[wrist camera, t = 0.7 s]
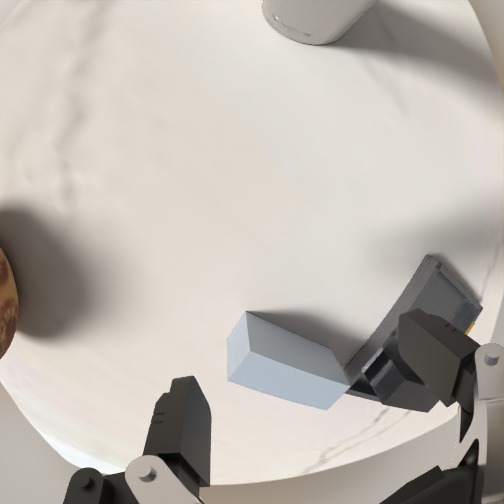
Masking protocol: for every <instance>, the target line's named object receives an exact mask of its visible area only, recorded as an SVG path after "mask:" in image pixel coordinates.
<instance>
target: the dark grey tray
mask: <svg viewBox="0 0 504 504" xmlns="http://www.w3.org/2000/svg"><path fill="white" fill-rule="evenodd" d="M415 307H418V308H420V309H421V310H423V311H424V312H425V313H427V314H428V315H429V314H432V315H436V316H439V317H442V318H443V319H445V320H446V321H448V322H449V323H450V325H451V324H452V325H453V326H455V327H456V328H457V329H459V330H460V331H462V332H463V333H464V334H466V335H467V334H468V333H469V331H470V330H471V328H472V327H473V325H474V324H475V323H474V322H475V321H476V319H477V317H478V316H479V314H480V312H481V311H482V309H483V307H482V306H481V305H480V304H479V303H478V302H477V300H476V299H475V298H474V297H473V296H472V295H471V294H470V293H469V292H468V290H467V289H466V288H465V287H464V286H463V285H462V284H461V283H460V282H459V281H458V280H457V279H456V278H455V277H454V276H453V275H452V274H451V273H450V272H449V271H448V269H447V268H446V267H445V266H444V265H442V264H441V263H440V262H439V261H438V260H436V259H434V258H432V257H430V256H428V255H427V254H426V256H425V258H424V260H423V261H422V263H421V265H420V266H419V268H418V269H417V271H416V273H415V274H414V276H413V277H412V279H411V281H410V282H409V284H408V285H407V287H406V288H405V290H404V291H403V293H402V294H401V296H400V297H399V299H398V300H397V302H396V303H395V305H394V306H393V307H392V309H391V310H390V312H389V313H388V314H387V316H386V317H385V318H384V320H383V321H382V323H381V324H380V325H379V327H378V328H377V329H376V330H375V332H374V333H373V334H372V336H371V337H370V338H369V339H368V341H367V342H366V343H365V344H364V346H363V347H362V348H361V349H360V351H359V352H358V353H357V354H356V355H355V357H354V358H353V359H352V360H351V361H350V362H349V364H348V365H347V366H346V367H345V368H344V369H343V370H342V371H343V373H344V374H345V376H346V378H347V380H348V382H349V384H350V386H351V387H350V388H349V389H348V390H347V391H346V392H345V393H346V394H350V395H353V396H357V397H361V398H365V399H369V400H374V401H378V402H381V403H382V404H383V405H388V406H393V407H398V408H403V409H409V410H415V411H421V412H427V413H428V412H429V411H430V410H431V409H432V408H433V407H434V406H435V404H436V403H437V402H438V401H439V400H440V399H439V398H438V397H437V396H436V395H435V394H434V393H433V392H432V390H431V389H430V388H429V387H428V386H427V385H426V384H425V383H424V382H423V381H422V379H421V378H420V377H419V376H418V375H417V374H416V373H415V372H414V371H413V370H412V369H411V368H410V367H409V365H408V364H407V363H406V362H405V361H404V360H403V359H402V357H401V356H400V353H399V349H398V331H399V316H400V314H402V313H404V312H406V311H409V310H411V309H413V308H415Z"/></svg>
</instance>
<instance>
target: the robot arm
mask: <svg viewBox="0 0 504 504" xmlns="http://www.w3.org/2000/svg"><path fill="white" fill-rule="evenodd" d="M377 1H378V0H263V3H262V10H263V14H264V16H265V18H266V20H267V21H268V23H269V24H270V25H271V26H272V27H273V28H274V29H275V30H276V31H278V32H279V33H281V34H282V35H284V36H286V37H288V38H290V39H292V40H294V41H298V42H301V43H305V44H312V45H323V44H328V43H332V42H334V41H336V40H338V39H339V38H340V37H342V36H343V35H344V34H345V33H346V32H347V31H348V30H349V29H350V28H351V27H352V26H353V25H354V24H355V23H356V22H357V21H358V20H359V19H360V18H361V17H362V16H363V15H364V14H365V13H366V12H367V11H368V10H369V9H370V8H371V7H372V6H373V5H374V4H375V3H376V2H377ZM398 349H399V353H400V356H401V357H402V359H403V360H404V361H405V362H406V363H407V364H408V365H409V367H410V368H411V369H412V370H413V371H414V372H415V373H416V374H417V375H418V376H419V377H420V378H421V379H422V381H423V382H424V383H425V384H426V385H427V386H428V387H429V388H430V389H431V390H432V392H433V393H434V394H435V395H436V396H437V397H438V398H439V399H440V400H441V402H442V403H443V404H444V405H445V406H446V407H449V406H450V405H452V404H453V403H454V402H456V401H457V402H458V403H459V407H458V417H457V434H456V444H455V451H454V454H453V457H452V460H451V463H450V466H449V469H447V470H443V471H441V469H440V468H439V466H436V467H434V468H433V469H431V470H429V471H428V472H426V473H424V474H423V475H421V476H419V477H417V478H415V479H414V480H412V481H410V482H408V483H406V484H405V485H404V486H403V487H401V488H400V489H399V490H397V491H396V492H395V493H393V494H392V495H391V496H389V497H388V498H387V499H385V500H384V501H382V502H381V503H380V504H504V347H503V346H501V345H499V344H496V343H488V344H484V345H482V346H481V345H479V344H478V343H477V342H475V341H474V340H473V339H471V338H470V337H469V336H467V335H466V334H464V333H463V332H462V331H460V330H459V329H457V328H456V327H455V326H453V325H452V324H451V325H450V323H449V322H448V321H446V320H445V319H443V318H442V317H439V316H436V315H432V314H429V315H428V314H427V313H425V312H424V311H423V310H421V309H420V308H418V307H415V308H413V309H411V310H409V311H406V312H404V313H402V314H400V316H399V331H398ZM153 414H154V415H153V416H152V420H151V424H150V427H149V431H148V435H147V439H146V443H145V447H144V451H143V455H142V456H141V457H138V458H136V459H135V460H133V461H132V462H131V463H130V464H129V465H128V467H127V468H126V471H125V472H121V473H116V474H111V475H106V476H103V475H102V474H101V473H100V472H99V471H98V470H96V469H94V468H83V469H80V470H78V471H77V472H76V473H74V475H73V476H72V478H71V480H70V482H69V486H68V489H67V492H66V496H65V499H64V502H63V504H206V503H205V502H204V501H203V500H202V499H201V498H200V497H199V487H210V452H211V411H210V407H209V404H208V402H207V400H206V398H205V396H204V394H203V392H202V390H201V388H200V386H199V384H198V382H197V380H196V378H195V377H194V376H187V377H181V378H175V379H173V380H172V384H171V388H170V392H169V393H163V395H162V396H161V397H160V398H159V400H158V401H157V402H156V405H155V409H154V412H153Z"/></svg>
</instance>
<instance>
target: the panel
mask: <svg viewBox="0 0 504 504" xmlns="http://www.w3.org/2000/svg"><path fill="white" fill-rule="evenodd" d="M227 372H228V381H230V382H233V383H236V384H239V385H241V386H244V387H247V388H250V389H253V390H256V391H259V392H262V393H265V394H268V395H272V396H275V397H278V398H282V399H285V400H289V401H292V402H296V403H299V404H303V405H307V406H311V407H315V408H319V409H323V410H328V409H329V408H330V407H331V406H332V405H333V404H334V403H335V402H336V401H337V400H338V399H339V398H340V397H341V396H342V395H343V394H344V393H345V392H346V391H347V390H348V389H349V388H350V387H351V386H350V384H349V382H348V380H347V378H346V376H345V374H344V373H343V371H342V369H341V367H340V365H339V363H338V361H337V359H336V357H335V355H334V354H333V352H332V350H331V349H330V348H327V347H325V346H323V345H320V344H318V343H315V342H313V341H311V340H308V339H306V338H304V337H301V336H299V335H297V334H295V333H292V332H290V331H288V330H285V329H283V328H281V327H279V326H277V325H274V324H272V323H270V322H268V321H266V320H263V319H261V318H259V317H257V316H255V315H253V314H251V313H248V312H246V311H245V313H244V314H243V316H242V317H241V319H240V320H239V322H238V323H237V325H236V326H235V328H234V329H233V331H232V332H231V334H230V335H229V337H228V338H227Z"/></svg>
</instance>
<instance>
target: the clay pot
mask: <svg viewBox="0 0 504 504" xmlns="http://www.w3.org/2000/svg"><path fill="white" fill-rule="evenodd" d="M18 310H19V306H18V295H17V289H16V284H15V280H14V276H13V273H12V270H11V267H10V265H9V262H8V260H7V258H6V256H5V254H4V252H3V250H2V249H1V247H0V359H1V358H2V357H3V355H4V354H5V353H6V351H7V350H8V348H9V346H10V344H11V342H12V340H13V337H14V334H15V331H16V327H17V322H18Z"/></svg>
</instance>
